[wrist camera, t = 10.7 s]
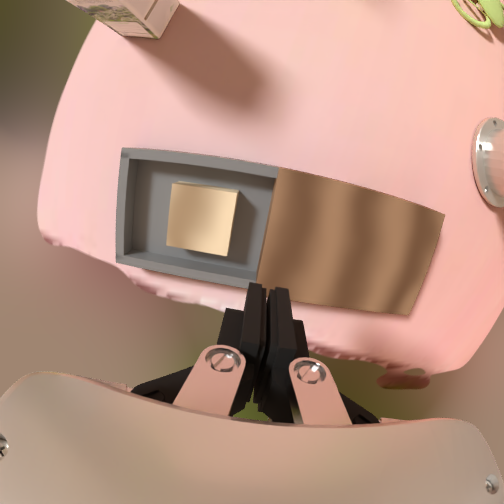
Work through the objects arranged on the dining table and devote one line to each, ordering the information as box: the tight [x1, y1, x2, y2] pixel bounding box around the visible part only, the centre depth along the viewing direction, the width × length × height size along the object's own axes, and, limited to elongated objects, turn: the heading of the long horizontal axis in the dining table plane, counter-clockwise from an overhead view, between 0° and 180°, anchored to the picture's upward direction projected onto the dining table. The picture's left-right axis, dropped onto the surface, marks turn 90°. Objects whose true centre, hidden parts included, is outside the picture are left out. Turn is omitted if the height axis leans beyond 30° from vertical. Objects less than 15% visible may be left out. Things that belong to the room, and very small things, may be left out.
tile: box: [166, 181, 239, 256], centre depth 26 cm, size 6×6×2 cm
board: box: [256, 167, 445, 315], centre depth 26 cm, size 18×12×4 cm, turn 80°
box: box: [116, 148, 279, 289], centre depth 26 cm, size 15×12×3 cm
